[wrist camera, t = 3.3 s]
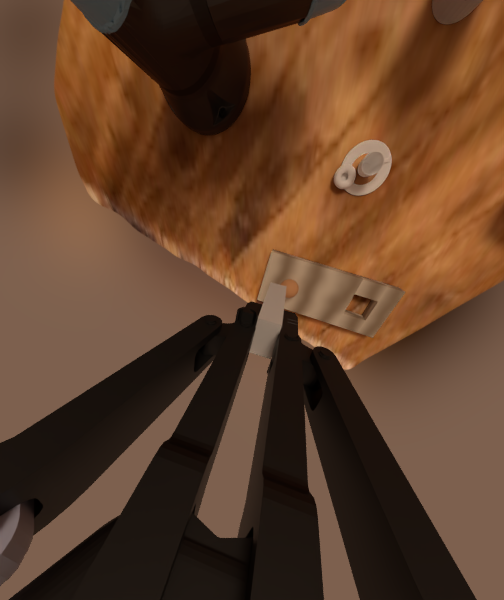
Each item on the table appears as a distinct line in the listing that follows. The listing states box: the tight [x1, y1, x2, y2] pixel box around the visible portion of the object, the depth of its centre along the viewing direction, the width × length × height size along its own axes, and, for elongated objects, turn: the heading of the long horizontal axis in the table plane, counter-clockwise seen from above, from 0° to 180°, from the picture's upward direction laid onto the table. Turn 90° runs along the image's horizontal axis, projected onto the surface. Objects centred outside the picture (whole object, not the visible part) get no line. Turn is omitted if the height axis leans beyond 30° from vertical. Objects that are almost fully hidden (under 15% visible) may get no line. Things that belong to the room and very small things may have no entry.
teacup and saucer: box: [334, 140, 392, 196], centre depth 30 cm, size 9×8×4 cm
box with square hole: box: [257, 250, 405, 338], centre depth 41 cm, size 28×12×2 cm, turn 76°
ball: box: [281, 279, 299, 298], centre depth 39 cm, size 4×4×4 cm
